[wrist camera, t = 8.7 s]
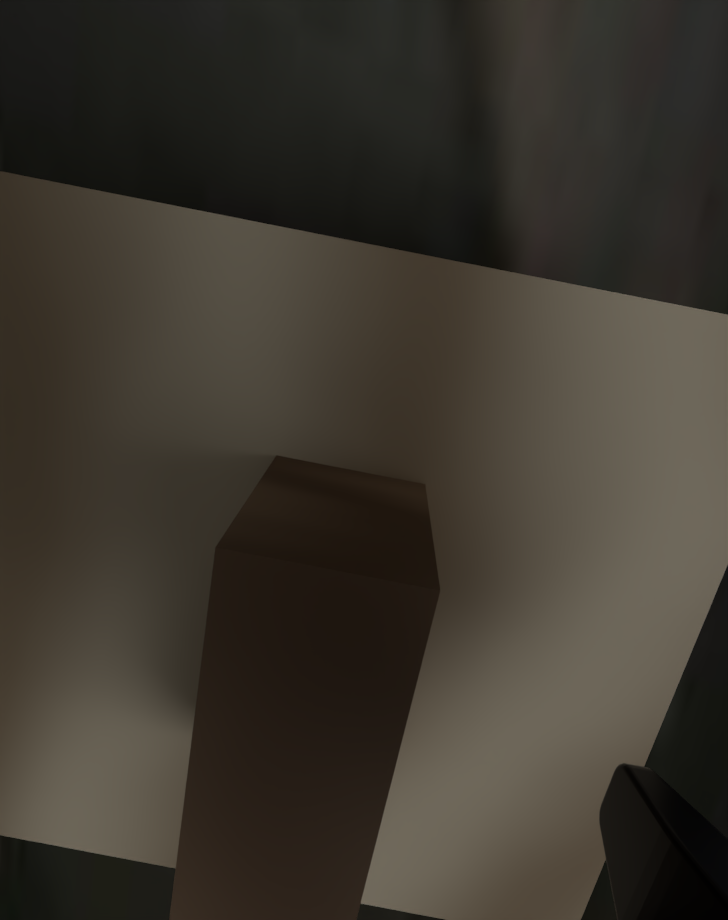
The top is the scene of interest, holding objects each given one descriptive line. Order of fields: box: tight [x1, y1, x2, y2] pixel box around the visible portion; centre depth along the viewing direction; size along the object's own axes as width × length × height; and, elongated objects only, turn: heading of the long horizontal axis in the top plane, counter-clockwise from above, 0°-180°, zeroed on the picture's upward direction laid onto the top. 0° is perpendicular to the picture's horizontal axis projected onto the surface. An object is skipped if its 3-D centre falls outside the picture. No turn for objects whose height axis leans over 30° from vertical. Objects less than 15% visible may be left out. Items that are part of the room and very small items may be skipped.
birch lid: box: [0, 171, 728, 920], centre depth 10 cm, size 13×13×4 cm
